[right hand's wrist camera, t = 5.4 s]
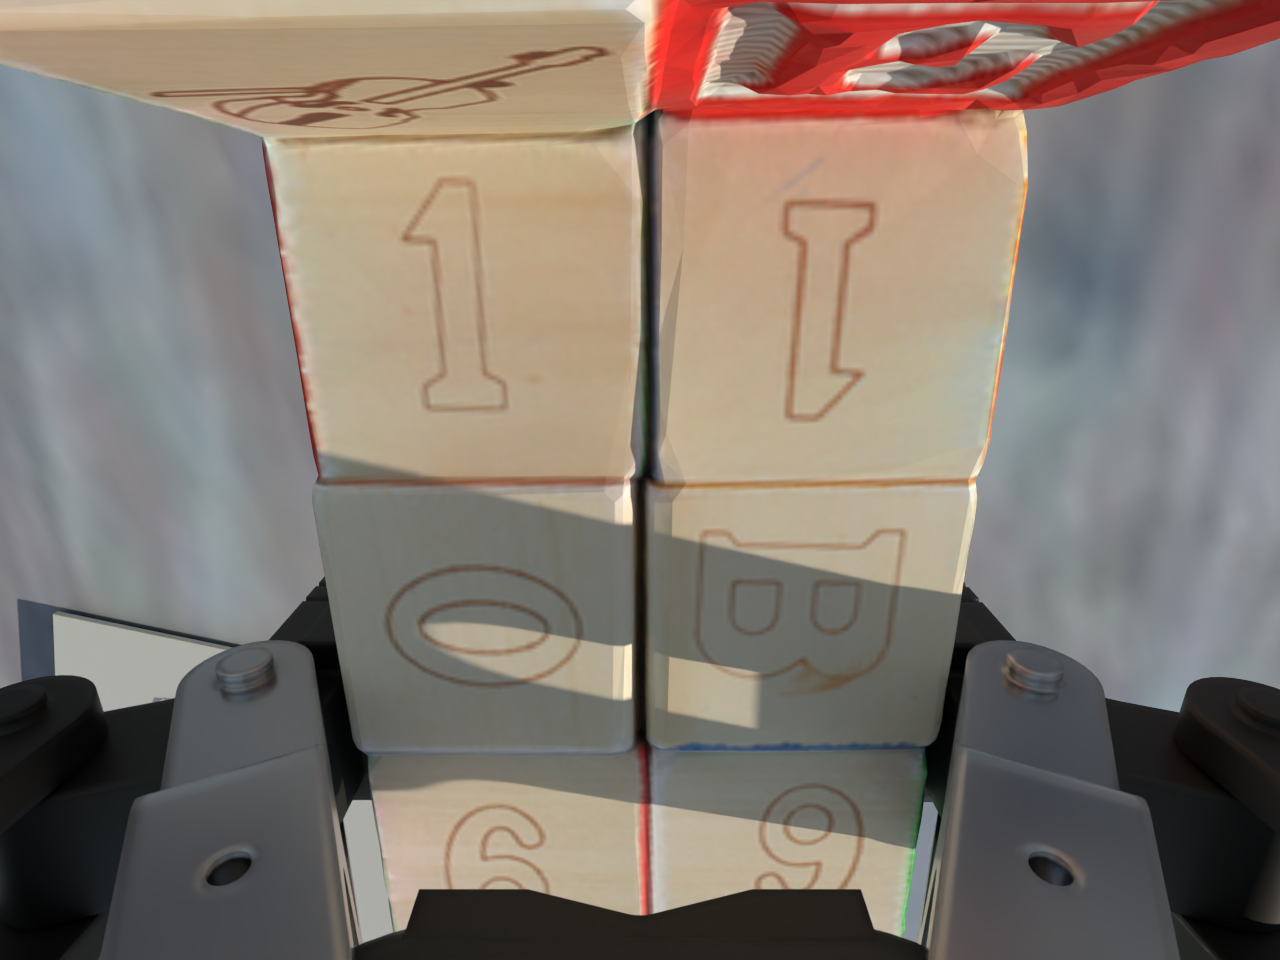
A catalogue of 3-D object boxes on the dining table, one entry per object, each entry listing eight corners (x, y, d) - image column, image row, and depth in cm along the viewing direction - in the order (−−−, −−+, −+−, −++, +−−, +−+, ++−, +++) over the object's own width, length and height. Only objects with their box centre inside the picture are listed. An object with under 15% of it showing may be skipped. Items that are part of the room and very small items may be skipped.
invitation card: (399, 1068, 33) (66, 1015, 32) (402, 1061, 34) (71, 1008, 32) (477, 703, 26) (51, 615, 25) (479, 698, 26) (57, 611, 25)
